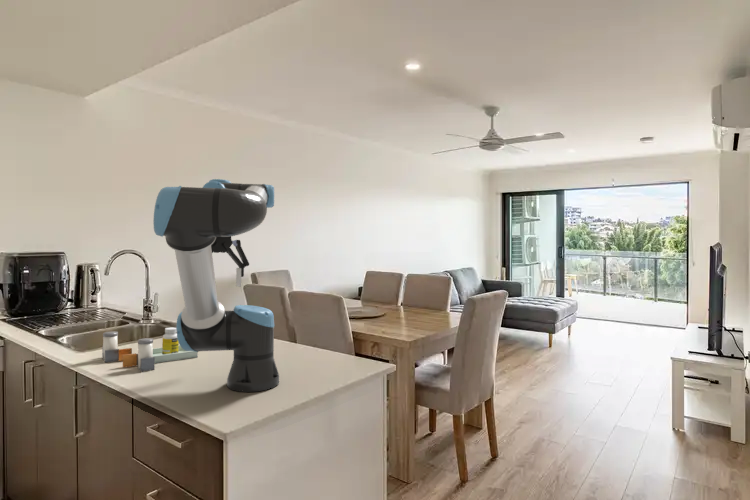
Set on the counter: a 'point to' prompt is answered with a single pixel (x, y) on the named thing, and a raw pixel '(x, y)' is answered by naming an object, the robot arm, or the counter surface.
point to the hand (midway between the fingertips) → (219, 287)
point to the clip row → (129, 358)
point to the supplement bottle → (170, 341)
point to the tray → (173, 355)
